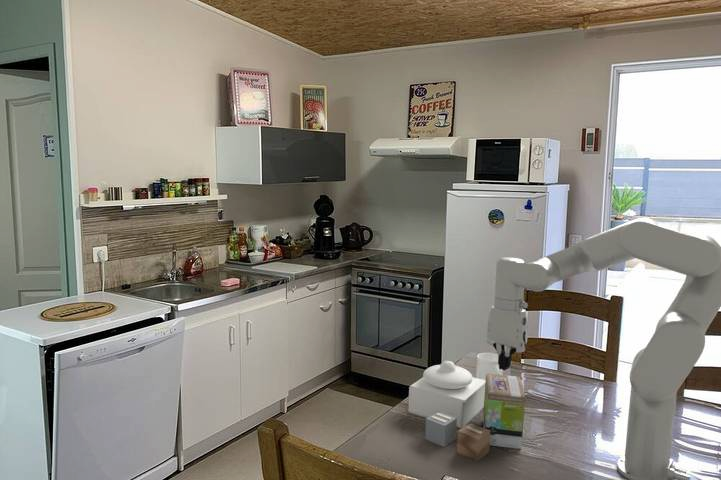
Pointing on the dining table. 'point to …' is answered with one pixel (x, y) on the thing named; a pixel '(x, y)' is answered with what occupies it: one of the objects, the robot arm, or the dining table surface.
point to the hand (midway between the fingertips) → (504, 368)
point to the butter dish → (447, 393)
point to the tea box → (504, 410)
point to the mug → (487, 365)
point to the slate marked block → (441, 428)
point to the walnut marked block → (473, 441)
